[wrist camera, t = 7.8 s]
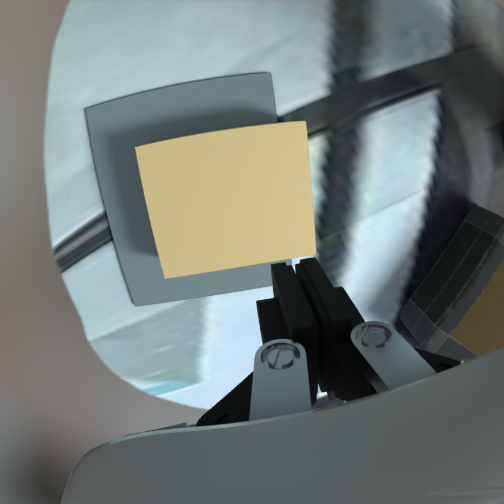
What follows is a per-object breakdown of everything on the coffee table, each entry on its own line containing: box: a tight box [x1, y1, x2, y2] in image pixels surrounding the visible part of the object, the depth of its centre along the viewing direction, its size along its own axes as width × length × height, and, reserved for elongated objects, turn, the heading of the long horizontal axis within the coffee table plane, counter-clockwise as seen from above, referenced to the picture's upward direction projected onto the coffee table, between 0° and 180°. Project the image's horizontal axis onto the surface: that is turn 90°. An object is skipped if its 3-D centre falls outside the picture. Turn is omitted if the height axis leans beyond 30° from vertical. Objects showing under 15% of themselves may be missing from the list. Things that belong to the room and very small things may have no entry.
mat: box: [86, 73, 292, 307], centre depth 30 cm, size 18×22×1 cm
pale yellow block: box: [135, 121, 316, 279], centre depth 28 cm, size 4×12×14 cm
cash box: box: [399, 205, 504, 363], centre depth 37 cm, size 25×20×8 cm
